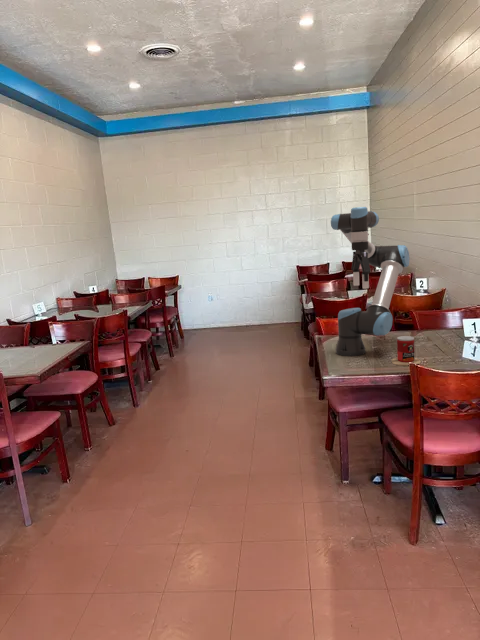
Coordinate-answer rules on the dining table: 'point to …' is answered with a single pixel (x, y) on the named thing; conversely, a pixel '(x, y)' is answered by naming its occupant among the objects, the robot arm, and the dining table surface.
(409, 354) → the canned food
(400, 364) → the disc
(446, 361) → the dining table surface
